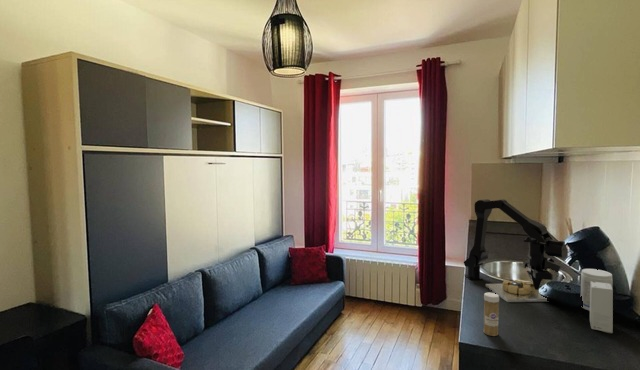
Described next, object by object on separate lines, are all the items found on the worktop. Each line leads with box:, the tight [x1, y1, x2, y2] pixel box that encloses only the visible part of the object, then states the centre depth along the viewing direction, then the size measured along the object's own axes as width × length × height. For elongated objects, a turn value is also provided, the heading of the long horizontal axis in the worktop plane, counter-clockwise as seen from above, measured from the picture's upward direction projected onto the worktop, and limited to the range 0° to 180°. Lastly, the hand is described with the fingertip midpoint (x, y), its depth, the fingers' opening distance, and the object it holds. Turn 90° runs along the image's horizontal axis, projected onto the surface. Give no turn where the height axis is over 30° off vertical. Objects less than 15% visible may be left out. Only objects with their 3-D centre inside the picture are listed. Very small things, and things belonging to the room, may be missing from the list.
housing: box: [485, 281, 548, 303], centre depth 149 cm, size 18×18×4 cm
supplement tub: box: [580, 268, 614, 312], centre depth 132 cm, size 10×10×15 cm
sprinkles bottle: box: [482, 292, 500, 337], centre depth 114 cm, size 5×5×14 cm
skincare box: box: [589, 281, 614, 334], centre depth 118 cm, size 8×6×15 cm
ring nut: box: [502, 279, 540, 294], centre depth 149 cm, size 14×10×3 cm
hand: (536, 289), depth 146 cm, fingers closed
